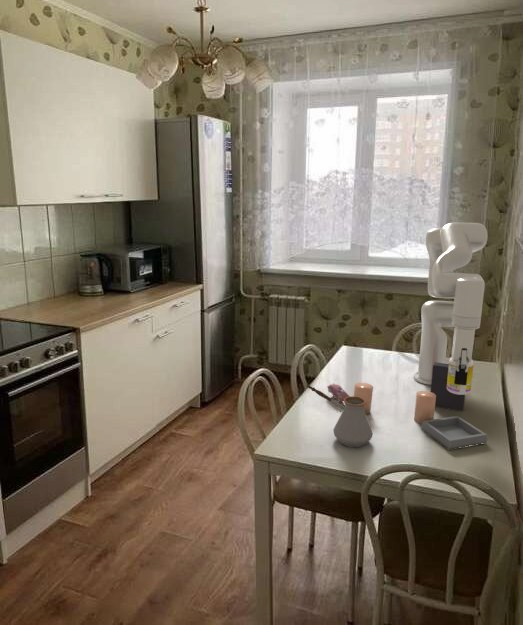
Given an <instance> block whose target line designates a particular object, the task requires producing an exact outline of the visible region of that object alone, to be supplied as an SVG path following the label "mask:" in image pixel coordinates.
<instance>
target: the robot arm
mask: <svg viewBox="0 0 523 625" xmlns="http://www.w3.org/2000/svg"><path fill="white" fill-rule="evenodd" d="M488 238H489V237H488V230H487V228H486V226H485V225H484V224H483V223H480V222H457V221H455V222H450V223H447V224H445V225H444V226H443V227H435V228H431V229H429V230H427V233H426V235H425V245H426V251H427V254H428V258H429V266H428V277H427V294H428V295H429V296H430V297H433V298H437V299H453V301H447V300H427V301H425V302H424V303H423V304H422V306H421V311H420V314H421V315H420V317H421V318H420V319H421V336H420V337H421V338H420V348H419V358H418V370H417V371H416V372H415V373H414V374H413V379H414V380H415V381H416V382H418V383H420V384H424V385H428V386H431V382H432V370H433V364H434V363H435V362H438V363H444V364H446V355H447V346H448V336H447V334H446V332H445V331H444V330H443V328H442V327H449V328H450V327H453V337H452V348H451V357H452V360H453V361H457V370H456V371H455V381H454V383H455V384H458V385H466V383H467V374H468V372H467V367H468V363H469V362H471V359H472V355H473V349H474V341H475V334H476V330H478V329H480V328H481V319H482V312H483V301H484V294H485V280H484V279H483V277H482V276H481V274H478V273H469V272H468V273H467V272H465V273H464V272H454V270H456V269H457V270H458V269H460V268H462V267H465V266H467V264H469V263H470V262H471V261H472V257H473V253H475V252H479V251H481V250H482V249H484V248H485V247H486V245H487V242H488ZM461 350H462V353H461ZM459 359H461V361H460V360H459ZM459 363H461V364H460V365H459Z"/></svg>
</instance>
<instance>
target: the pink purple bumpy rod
mask: <svg viewBox="0 0 523 625" xmlns="http://www.w3.org/2000/svg"><path fill="white" fill-rule="evenodd" d="M327 391H328V393H331V395H332V396H333V398H334V399H335V400H338V402H339V403H342V402H344V398H346V397H351V395H349V394H348V393H347V391H346V390H345V389H343V388H342V386H341V385H340V384H337V383H336V384H335V383H334V382H333V383H332V384H331V383H330V384H329V385H327Z"/></svg>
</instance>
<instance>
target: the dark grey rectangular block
mask: <svg viewBox="0 0 523 625" xmlns="http://www.w3.org/2000/svg"><path fill="white" fill-rule="evenodd" d="M448 368H449V363H445V364H444V363H438V362H435V363H434V364H433V370H432V382H431V385H430V392H432V393H434V394H435V395H436V402H435V407H436V406H437V408H442V407H443V409H448V408H449V410H453V409H454V410H453V411H460V412H463V411H464V407H465V399H466V395H458V394H453V393H451V392H449V391H448V390H447V379H448Z"/></svg>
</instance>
